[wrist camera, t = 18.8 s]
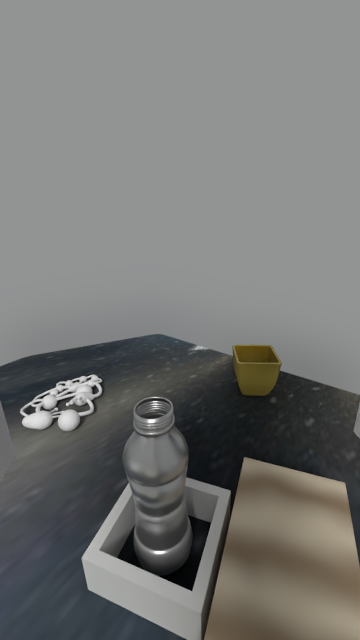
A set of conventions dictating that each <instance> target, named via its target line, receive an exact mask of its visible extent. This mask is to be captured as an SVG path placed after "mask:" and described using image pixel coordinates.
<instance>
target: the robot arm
mask: <svg viewBox="0 0 360 640" xmlns="http://www.w3.org/2000/svg"><path fill="white" fill-rule="evenodd" d="M354 432H355V433H356V435H357V436H358V437H359V438H360V404H359V409H358V413H357V418H356V423H355V427H354ZM15 457H16V456H15V452H14V448H13V445H12V441H11V438H10V434H9V431H8V427H7V423H6V420H5V416H4V413H3V409H2V405H1V402H0V482H1V480H2V478H3V477H4V475H5V473H6V472H7V470H8V468H9V467H10V465H11V463H12V462H13V460H14V458H15Z"/></svg>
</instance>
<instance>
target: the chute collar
mask: <svg viewBox="0 0 360 640" xmlns="http://www.w3.org/2000/svg"><path fill="white" fill-rule="evenodd" d="M230 500H231V491H230V490H227V489H223V488H220V487H217V486H213V485H210V484H207V483H203V482H200V481H197V480H194V479H190V478H187V477H186V481H185V502H186V508H187V514H188V515H190V516H193V517H195V518H198V519H201V520H204V521H207V522H210V523H211V526H210V530H209V533H208V537H207V540H206V544H205V548H204V551H203V555H202V558H201V562H200V565H199V569H198V572H197V576H196V580H195V583H194V587H193V590H192V591H190V590H188V589H185V588H183V587H181V586H179V585H176V584H174V583H172V582H170V581H167V580H165V579H163V578H161V577H158V576H156V575H154V574H152V573H149V572H147V571H145V570H143V569H140V568H138V567H136V566H133V565H131V564H129V563H127V562H124V561H122V560H120V559H118V558H117V557H118V555H119V553H120V551H121V549H122V547H123V546H124V544H125V542H126V540H127V538H128V536H129V534H130V532H131V530H132V528H133V526H134V525H135V505H134V500H133V495H132V490H131V487H130V484H129V483H128V485H127V486H126V488H125V490H124V491H123V493H122V494H121V496H120V498H119V499H118V501H117V502H116V504H115V506H114V507H113V509H112V510H111V512H110V514H109V515H108V517H107V518H106V520H105V522H104V523H103V525H102V526H101V528H100V529H99V531H98V533H97V534H96V536H95V537H94V539H93V541H92V542H91V544H90V545H89V547H88V549H87V550H86V552H85V553H84V555H83V557H82V562H83V567H84V572H85V576H86V581H87V586H88V590H90V591H92V592H94V593H96V594H98V595H100V596H102V597H104V598H106V599H108V600H110V601H112V602H114V603H116V604H118V605H120V606H122V607H124V608H126V609H128V610H130V611H132V612H134V613H136V614H138V615H140V616H142V617H143V618H145V619H147V620H149V621H151V622H153V623H155V624H157V625H159V626H161V627H163V628H165V629H167V630H169V631H171V632H173V633H175V634H177V635H179V636H181V637H183V638H185V639H187V640H203V636H204V632H205V627H206V623H207V619H208V614H209V610H210V605H211V601H212V596H213V592H214V587H215V583H216V578H217V574H218V569H219V565H220V560H221V556H222V552H223V547H224V543H225V538H226V534H227V529H228V525H229V520H230Z"/></svg>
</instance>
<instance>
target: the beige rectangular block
mask: <svg viewBox="0 0 360 640" xmlns="http://www.w3.org/2000/svg"><path fill="white" fill-rule="evenodd" d="M204 640H360V567H359V561H358V555H357V549H356V544H355V538H354V532H353V526H352V520H351V515H350V509H349V503H348V497H347V491H346V486H345V483H343V482H339V481H335V480H331V479H327V478H324V477H320V476H316V475H312V474H308V473H304V472H300V471H296V470H292V469H289V468H285V467H281V466H277V465H273V464H269V463H265V462H261V461H258V460H254V459H250V458H246V457H244V461H243V465H242V470H241V474H240V479H239V483H238V488H237V492H236V497H235V501H234V506H233V510H232V515H231V519H230V524H229V528H228V533H227V538H226V542H225V547H224V551H223V556H222V560H221V565H220V569H219V574H218V578H217V583H216V587H215V592H214V596H213V601H212V605H211V610H210V614H209V619H208V623H207V628H206V632H205V637H204Z"/></svg>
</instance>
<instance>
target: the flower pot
mask: <svg viewBox="0 0 360 640" xmlns="http://www.w3.org/2000/svg"><path fill="white" fill-rule="evenodd" d="M233 362H234V370H235V374H236V377H237V381H238V386H239V389H240V391H241V393H242V394H243V395H256V396H266V395H267V394H269V393H270V392H271V390H272V389H273V388H274V386H275V384H276V382H277V379H278V375H279V371H280V367H281V364H282V363H281V361H280V360H279V358H278V356H277V355H276V353H275V351H274V349H273V347H272V346H270V345H233Z"/></svg>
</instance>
